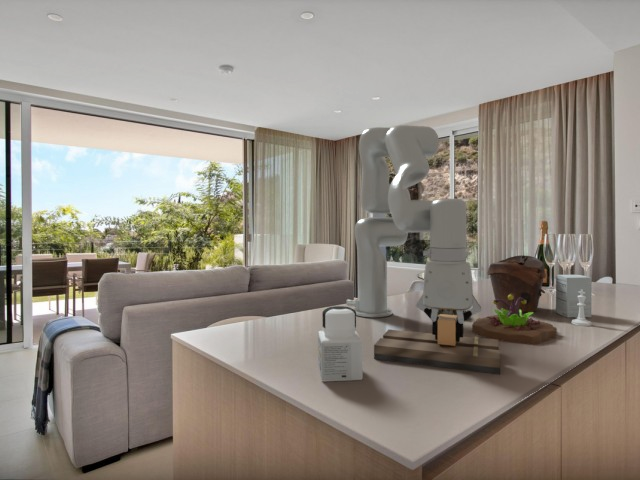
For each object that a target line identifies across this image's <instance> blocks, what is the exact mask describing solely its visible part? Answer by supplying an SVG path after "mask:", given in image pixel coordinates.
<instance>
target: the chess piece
mask: <svg viewBox="0 0 640 480" xmlns="http://www.w3.org/2000/svg"><path fill="white" fill-rule="evenodd" d="M578 293H580V295H579V296H577V297H578V299H579V302H580V303H578V304H577V305H579V306H580V307H579V314H578V317H576V318H575V319H572V320H571V324H572V325H575V326H581V327H591V326H592V322H591V321H590V320H587V317H585V315H584V307H583V306H586V304H584V301H585V298H586V297H585V296H583V294H585V292H583V290H582V289H581V291H578Z"/></svg>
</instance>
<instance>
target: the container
mask: <svg viewBox="0 0 640 480" xmlns="http://www.w3.org/2000/svg"><path fill="white" fill-rule="evenodd" d="M354 309H355V308H352V307H350V306H339V305H337V306H329V307H326V308H325V309H324V310H322V315H321V316H322V330H319V331H318V332H317V335H318V338H317V342H318V344H317V345H318V370H319V374H320V378H321V379H320V380H321V381H322V382H324V383H325V382H348V381H350V382H351V381H363V377H364V376H363V339H362V338H361V336H360V335H359V334H358V331H357V315H356V311H355V310H354Z"/></svg>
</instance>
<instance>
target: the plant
mask: <svg viewBox="0 0 640 480" xmlns="http://www.w3.org/2000/svg"><path fill="white" fill-rule="evenodd" d="M508 299H509V300H512V302H511V303H512V304H511V306H510V305H509V304H508V303H507V302H505V301H504V300H501V299H495V298H494V299H493V300H492V303H493V304H494V305H496V304H498V301H501V302H503V303H504V304H505V305H506V306H507V307H508V310H509V311H507V310H505V309H503V308H502V309H501V310H499V309H494V308H492V310H493V312H495V313H496V315H494V314H493V315H490V316H489V315H488V316H486V317H481V318H477V319H476V320H474V321H473V322H472V325H471V333H474V334H477V335H480V336H482V337H483V338H487V339H497V340H498V341H502V342H506V343H519V344H527V345H538V344H539V345H540V344H541V343H543V342H547V341H548V340H550V339H556V338H557V335H558V334H557V333H558V330H557V329H558V328H557V327H555V326H554V325H553V324H551V323H548V322H545V321H540V320H536V319H533V318H532V317H530V316H532V315H534V312H535V311H532V312H525V313H524V314H523V315H522V313H523V312H521V309H519V301H520V300H521V302H522V304H526V300H525V299H523V298H522V297H520V298H518V299H517V301H516V302H515V296H514V294H513V293H511V294H509V295H508ZM501 311H502V312H501Z"/></svg>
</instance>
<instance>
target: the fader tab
mask: <svg viewBox="0 0 640 480" xmlns="http://www.w3.org/2000/svg"><path fill="white" fill-rule="evenodd" d="M438 317H439V318H438V344H443V345H453V346H455V345H456V322H457V319H458V317H457V314H455V315H446V314H440V315H438Z"/></svg>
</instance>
